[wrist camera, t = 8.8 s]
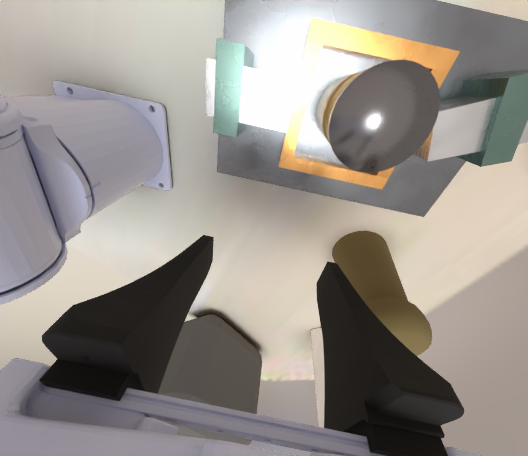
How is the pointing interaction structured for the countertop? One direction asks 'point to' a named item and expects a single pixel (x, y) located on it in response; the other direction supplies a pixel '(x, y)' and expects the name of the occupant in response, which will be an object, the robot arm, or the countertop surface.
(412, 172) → the bench plate
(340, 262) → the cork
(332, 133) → the tan and grey cylinder
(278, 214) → the countertop surface
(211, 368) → the dark grey rounded block
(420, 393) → the robot arm
